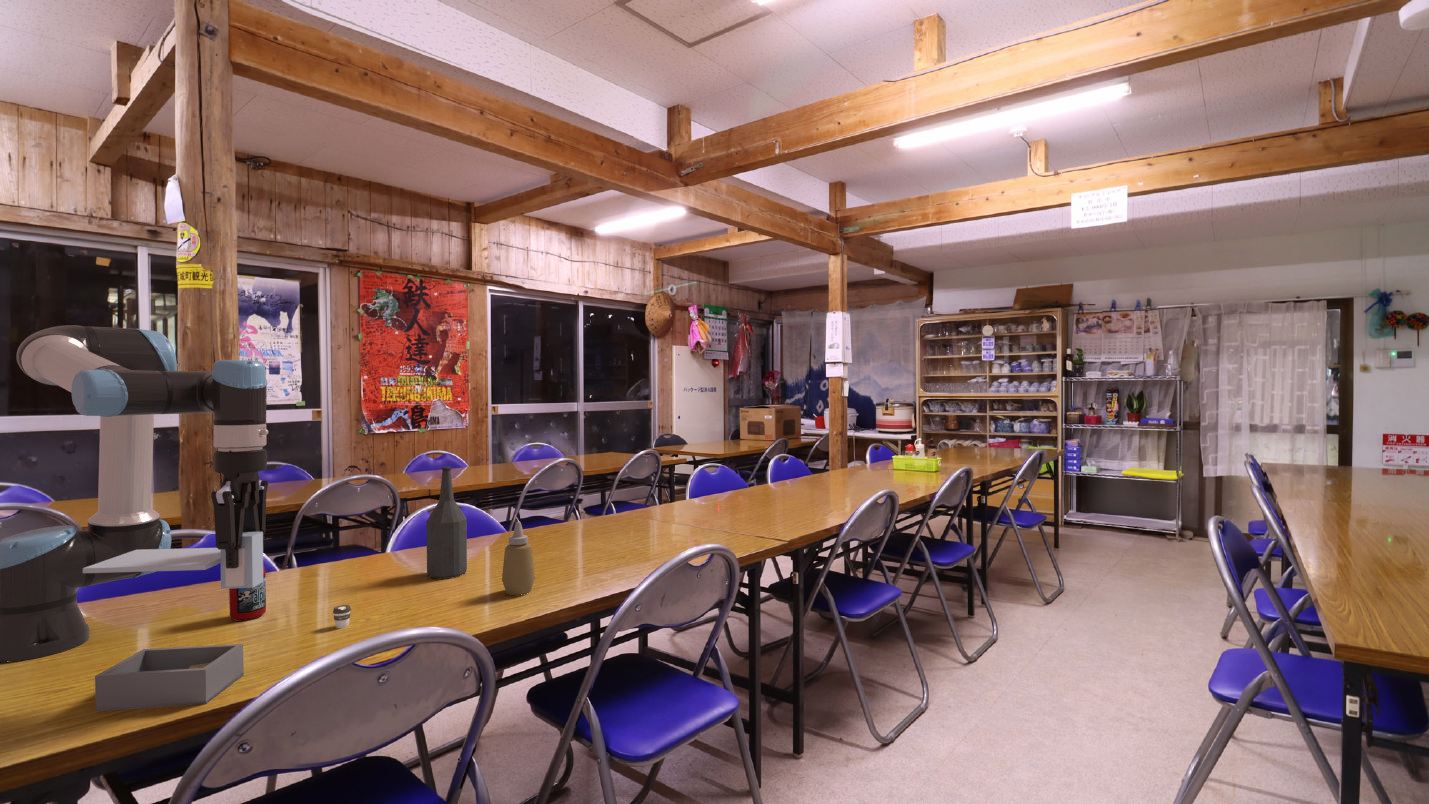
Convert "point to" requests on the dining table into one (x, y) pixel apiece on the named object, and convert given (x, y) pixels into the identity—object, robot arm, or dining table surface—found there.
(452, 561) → the bottle
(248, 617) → the beverage can
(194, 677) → the tub
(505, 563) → the squeeze bottle
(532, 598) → the dining table surface
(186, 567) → the lid
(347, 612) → the coffee cup
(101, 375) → the robot arm
